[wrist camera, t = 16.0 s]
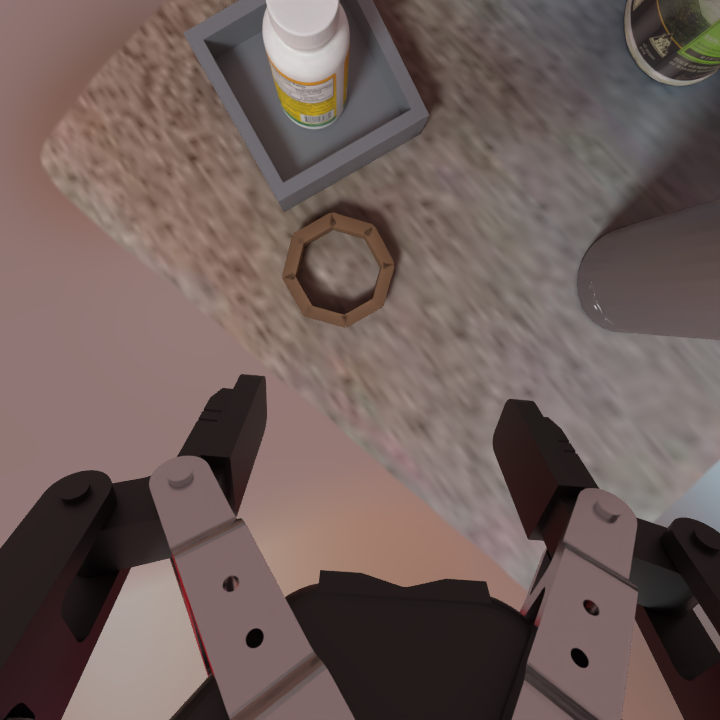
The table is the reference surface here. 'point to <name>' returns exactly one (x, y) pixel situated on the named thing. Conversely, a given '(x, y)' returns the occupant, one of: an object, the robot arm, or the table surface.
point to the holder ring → (351, 228)
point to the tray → (277, 131)
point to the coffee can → (674, 38)
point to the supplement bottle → (308, 58)
